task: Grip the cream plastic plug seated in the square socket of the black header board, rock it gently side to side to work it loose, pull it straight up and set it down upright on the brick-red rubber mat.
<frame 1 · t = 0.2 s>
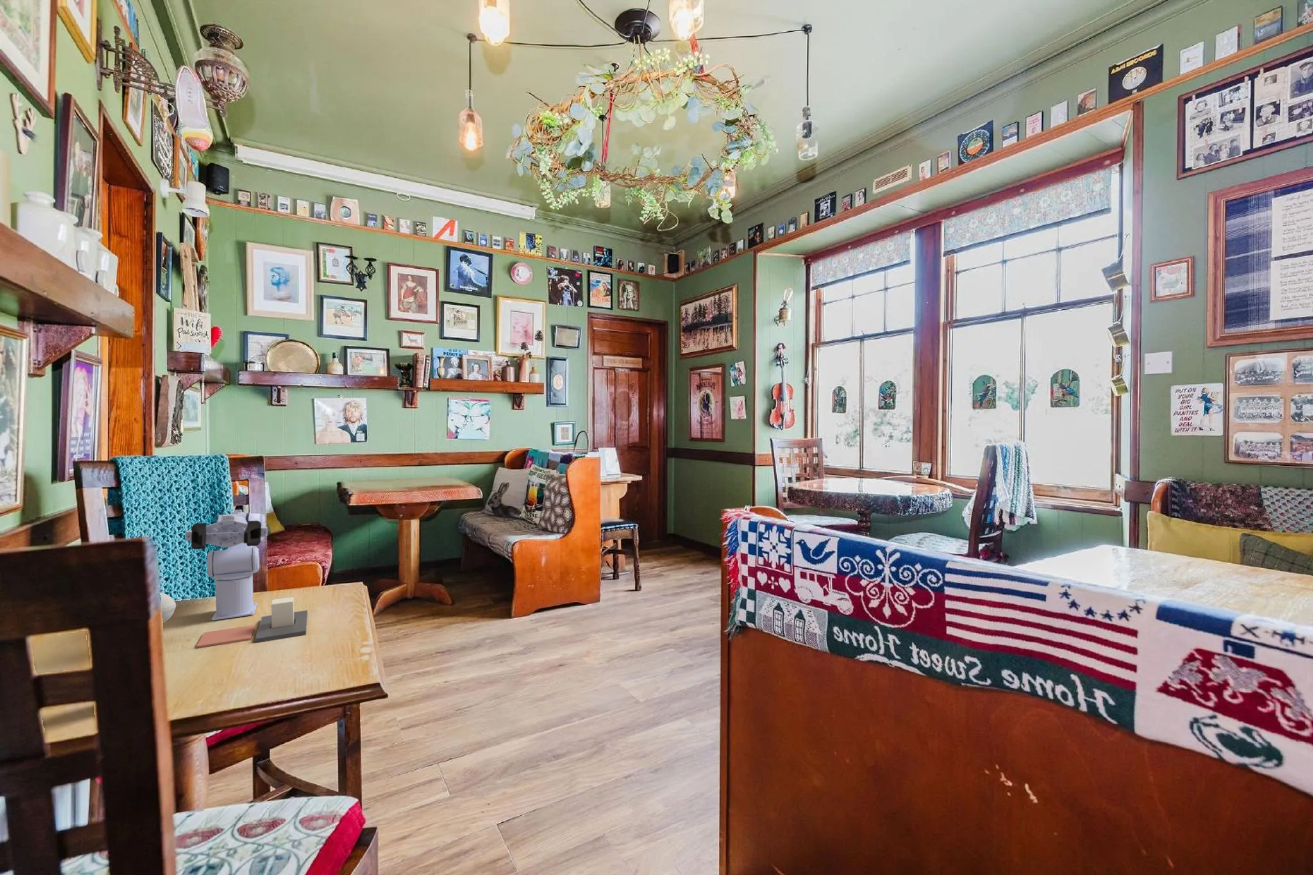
hand: (223, 539, 121), 21 cm above the table, tool horizontal, fingers open, 7 cm apart
mat: (227, 636, 122), on the table
header board: (283, 626, 128), on the table
plug: (283, 627, 128), resting in header board
lollipop: (155, 676, 103), on the table
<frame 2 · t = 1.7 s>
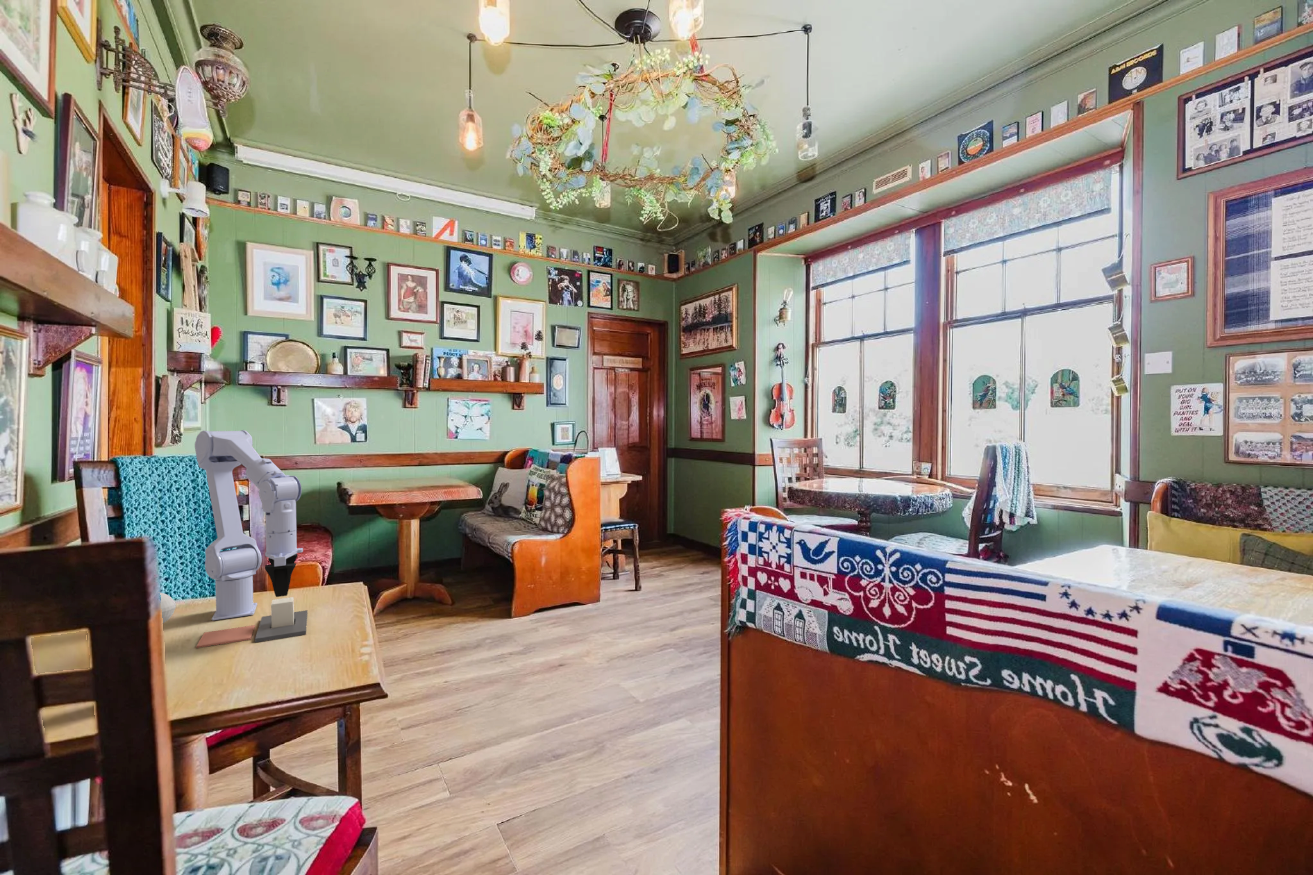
hand: (282, 591, 128), 8 cm above the table, tool pointing down, fingers open, 7 cm apart
nothing on the table moved.
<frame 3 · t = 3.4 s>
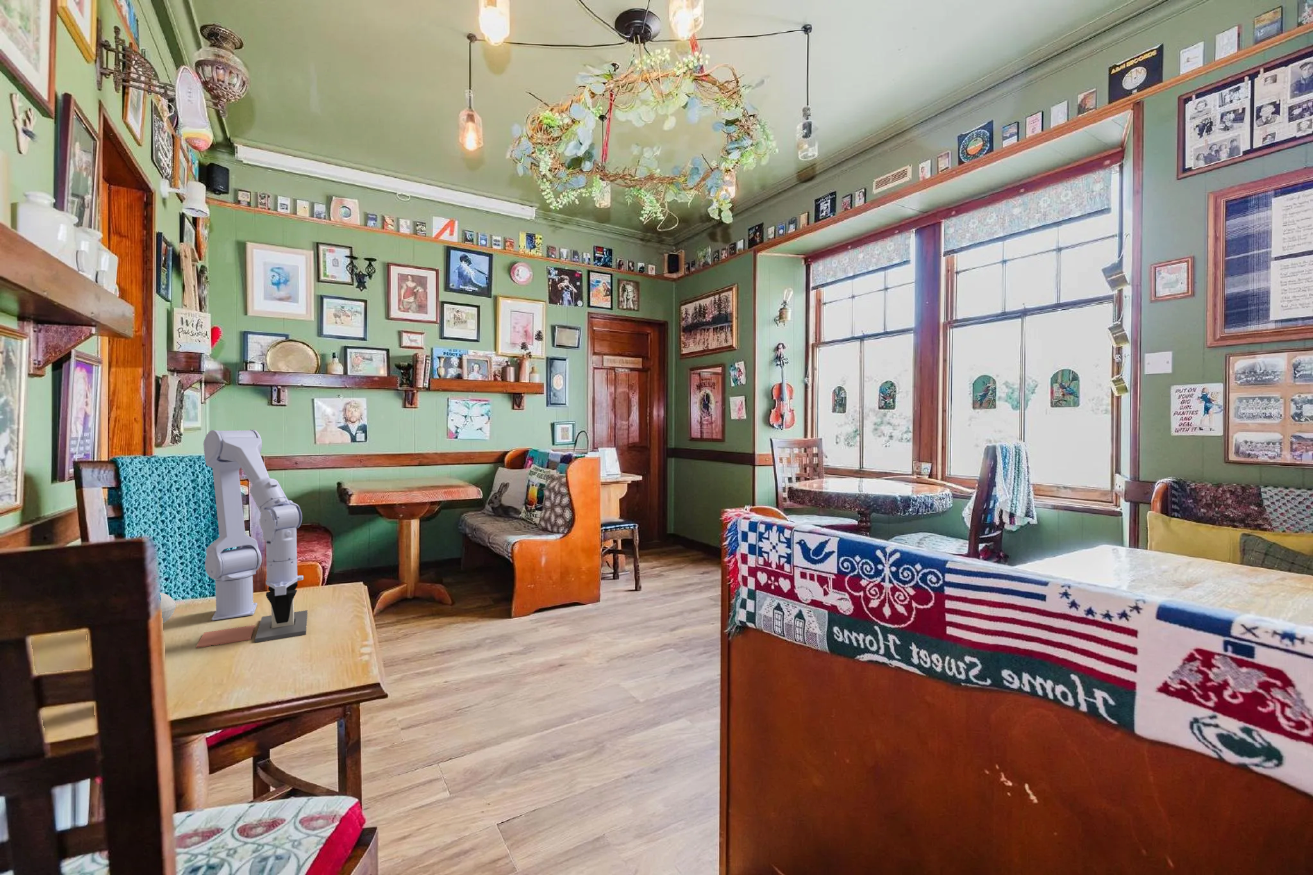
hand: (283, 619, 128), 2 cm above the table, tool pointing down, fingers closed on plug, 4 cm apart
plug: (283, 627, 128), resting in header board, touching gripper
everything else where it was.
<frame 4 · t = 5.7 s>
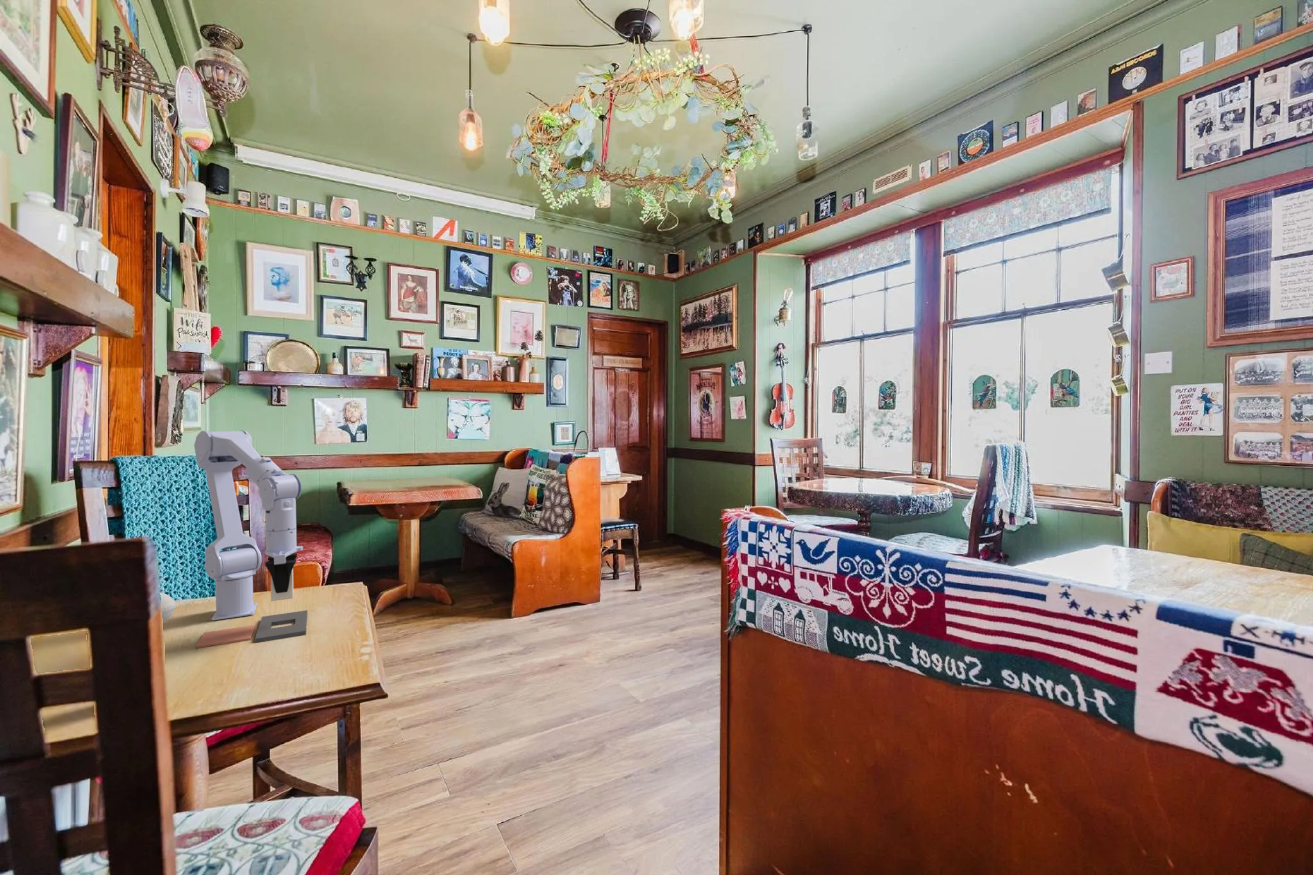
hand: (282, 589, 128), 8 cm above the table, tool pointing down, fingers closed on plug, 4 cm apart
plug: (282, 597, 128), point 7 cm above the table, touching gripper
everything else where it was.
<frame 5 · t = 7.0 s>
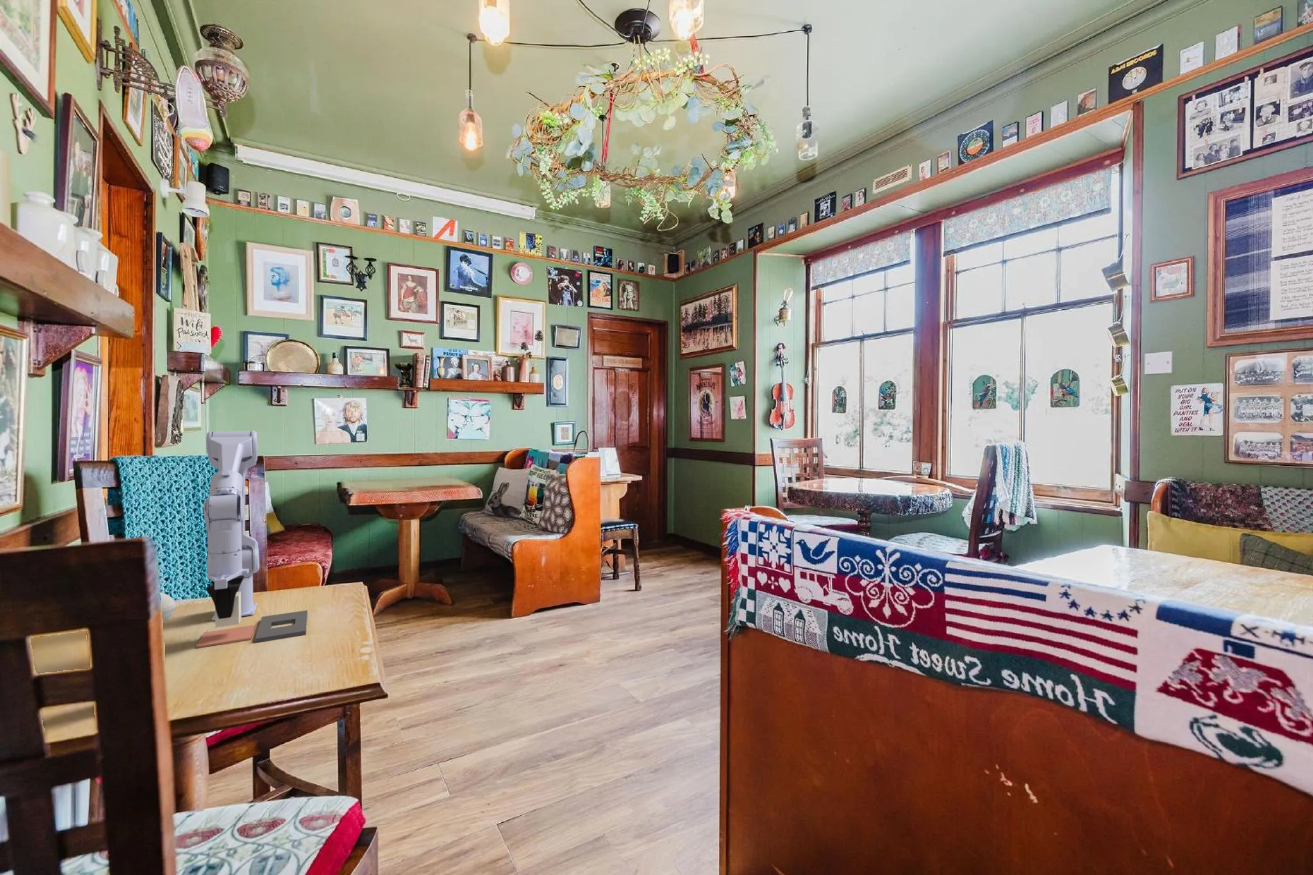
hand: (226, 614, 122), 5 cm above the table, tool pointing down, fingers closed on plug, 4 cm apart
plug: (228, 623, 122), point 3 cm above the table, touching gripper
everything else where it was.
when the fingers open (4 cm above the table, at t = 8.0 s): plug drops 2 cm, resting on mat.
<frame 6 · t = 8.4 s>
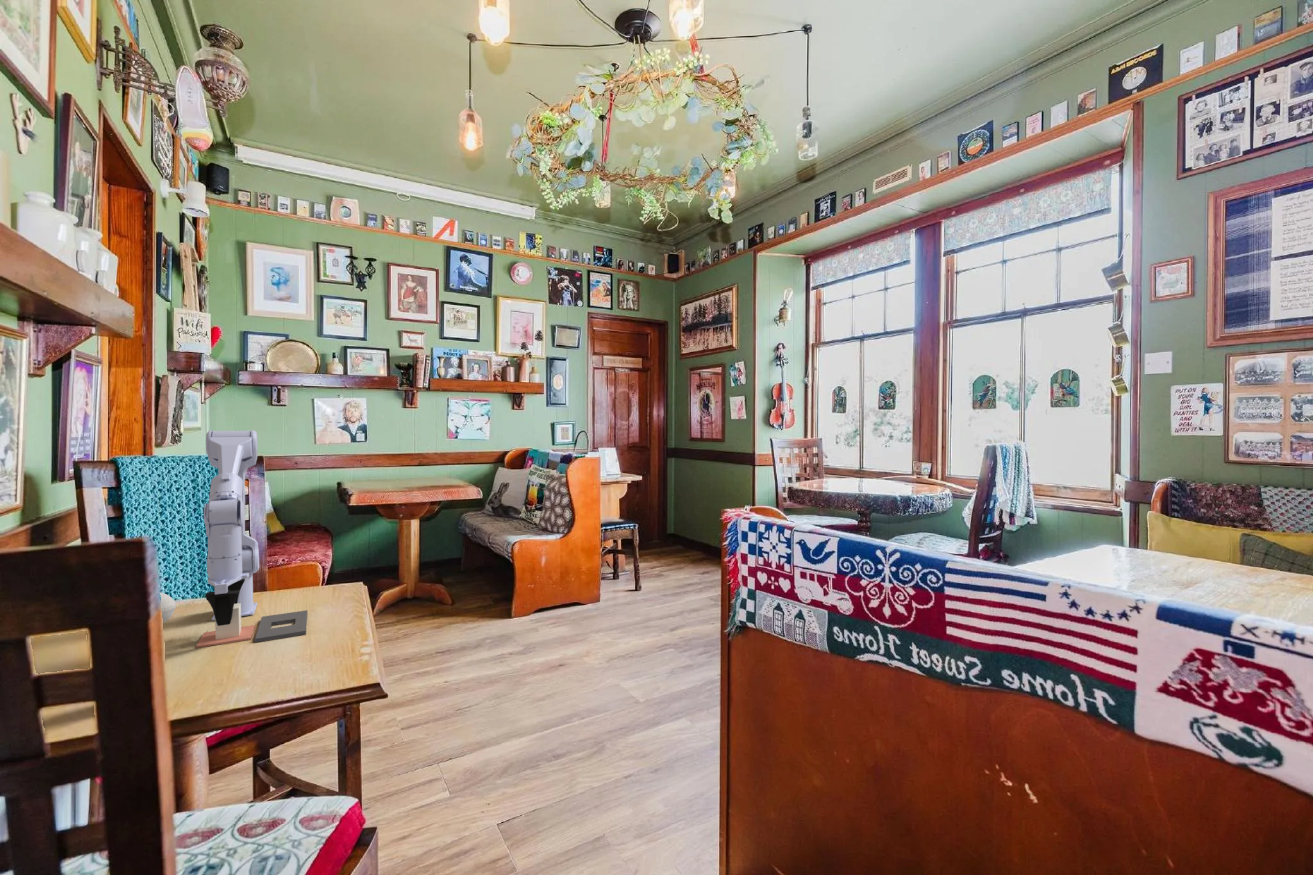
hand: (226, 619, 122), 4 cm above the table, tool pointing down, fingers open, 7 cm apart
plug: (228, 634, 122), resting on mat
everything else where it was.
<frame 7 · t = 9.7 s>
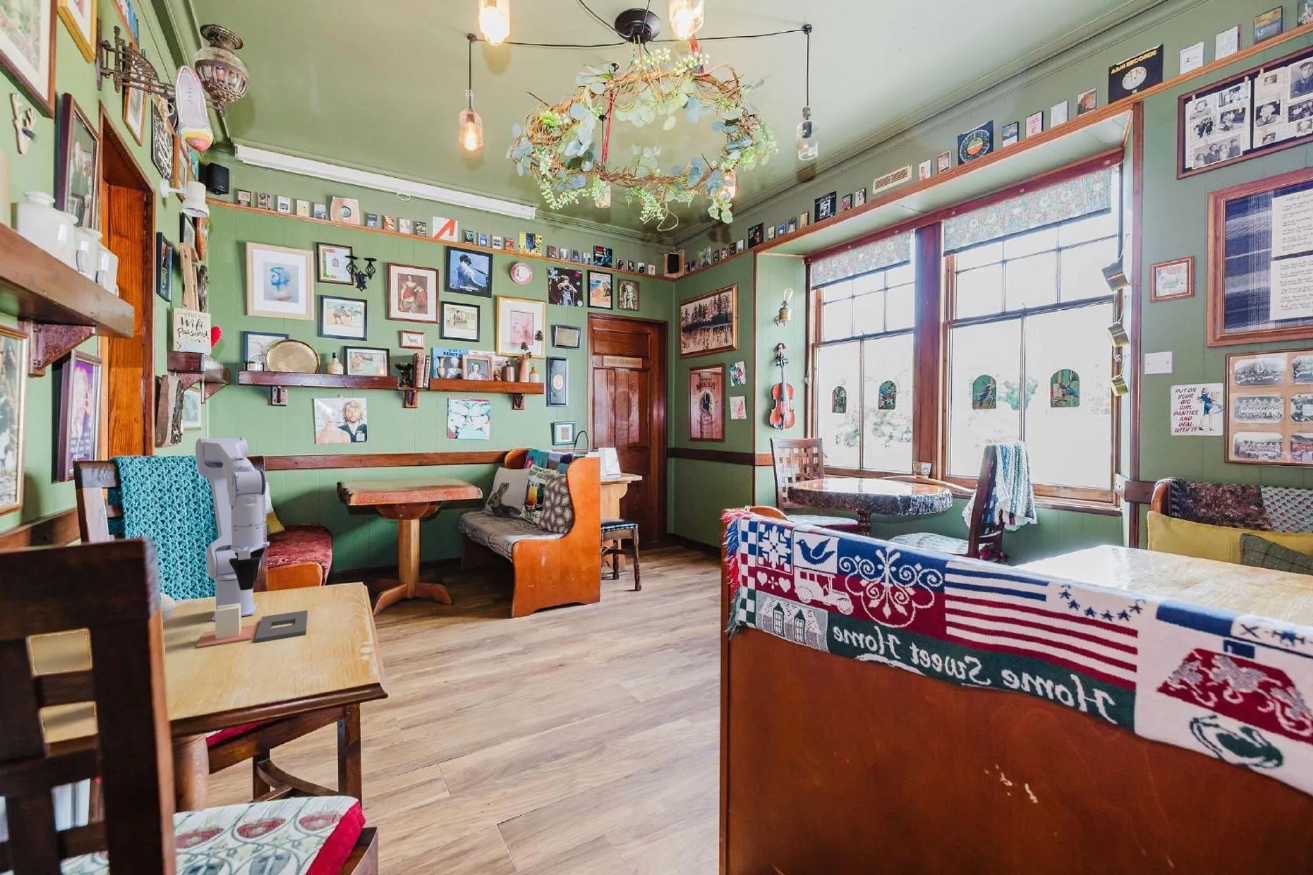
hand: (248, 585, 128), 9 cm above the table, tool pointing down, fingers open, 7 cm apart
nothing on the table moved.
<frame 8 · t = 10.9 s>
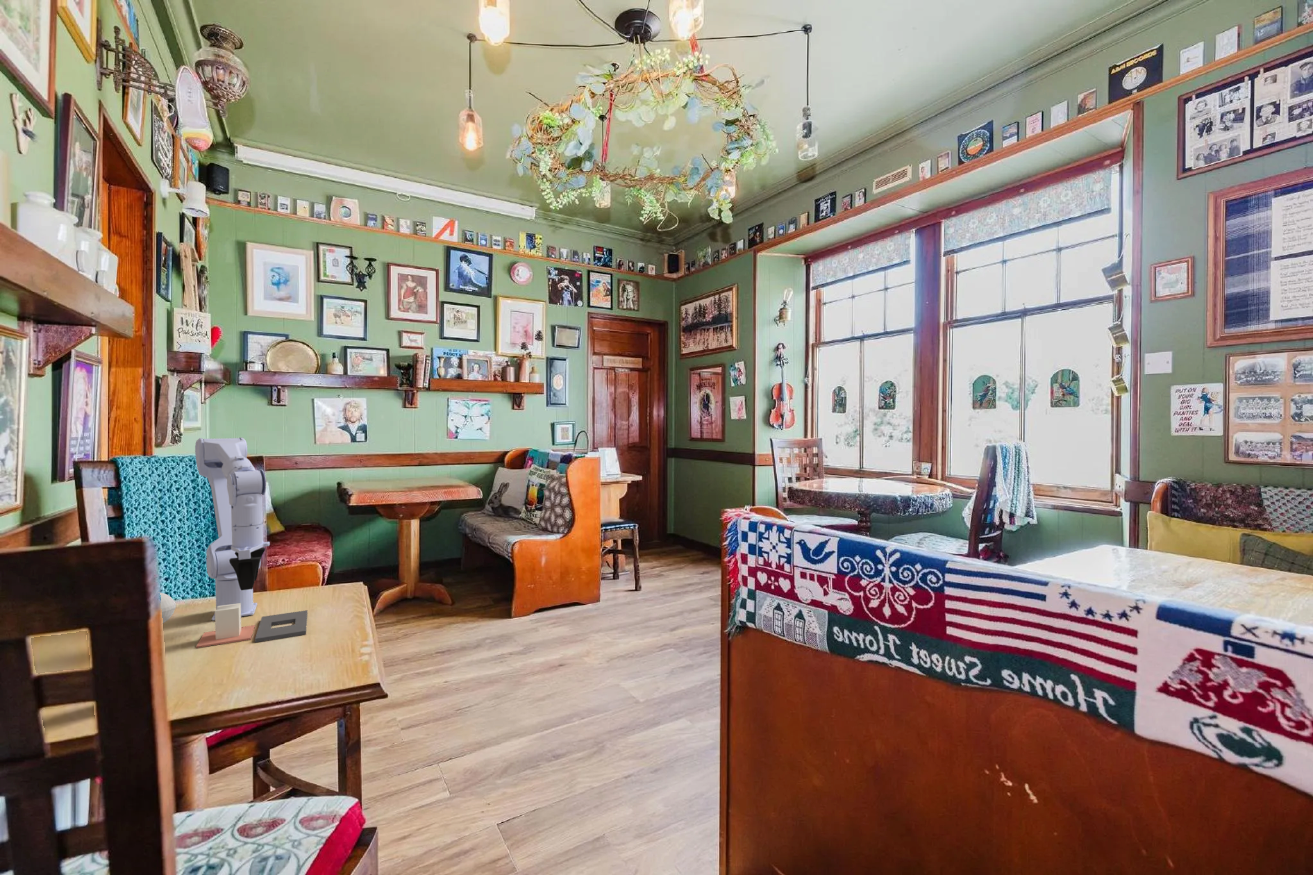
hand: (248, 585, 128), 9 cm above the table, tool pointing down, fingers open, 7 cm apart
nothing on the table moved.
at the end: plug 0.3 cm off-centre on the mat, point 0.4 cm above the mat's base; plug tilted 0°; the gripper is holding nothing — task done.
